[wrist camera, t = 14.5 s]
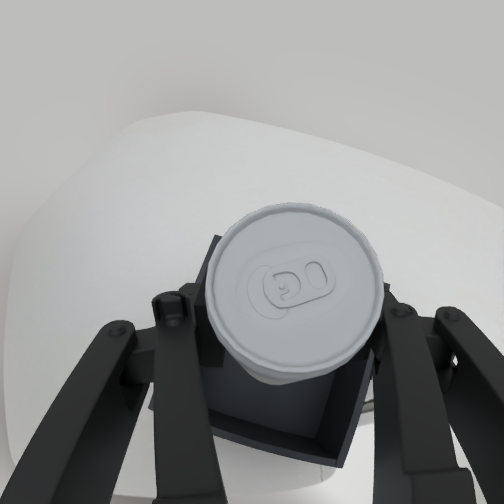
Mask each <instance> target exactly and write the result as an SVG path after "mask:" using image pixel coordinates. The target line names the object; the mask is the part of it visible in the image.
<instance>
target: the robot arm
mask: <svg viewBox="0 0 504 504" xmlns="http://www.w3.org/2000/svg"><path fill="white" fill-rule="evenodd" d="M217 243H218V242H216V244H215V247H216V245H217ZM215 247H214V250H215ZM214 250H213V252H214ZM213 252H212V254H213ZM211 257H212V255H211ZM210 259H211V258H210ZM207 270H208V266H207V269H206V272H205V275H204V278H203V281H202V283H186V284H185V285H183V286H182V287H181V288H179V291H169V292H164V293H161V294H159V295H157V296H156V297H154V298H153V300H152V307H153V312H154V317H155V322H156V325H155V326H154V327H152V328H148V329H142V330H135V327H134V325H133V323H131V322H129V321H125V320H116V321H112V322H110V323H108V324H106V325H104V326H103V327H102V328H101V330H100V331H99V332H98V334H97V335H96V337H95V338H94V340H93V341H92V343H91V344H90V346H89V347H88V349H87V350H86V352H85V353H84V355H83V356H82V358H81V359H80V361H79V362H78V364H77V365H76V367H75V368H74V370H73V371H72V373H71V374H70V376H69V377H68V379H67V381H66V382H65V384H64V385H63V387H62V388H61V390H60V392H59V393H58V395H57V396H56V398H55V400H54V401H53V403H52V405H51V406H50V408H49V410H48V411H47V413H46V415H45V416H44V418H43V420H42V421H41V423H40V425H39V426H38V428H37V430H36V432H35V433H34V435H33V437H32V439H31V440H30V442H29V444H28V446H27V448H26V449H25V451H24V453H23V455H22V457H21V459H20V460H19V462H18V464H17V466H16V468H15V470H14V472H13V474H12V476H11V478H10V480H9V482H8V484H7V486H6V488H5V490H4V492H3V494H2V496H1V498H0V504H110V501H111V497H112V494H113V491H114V488H115V485H116V482H117V478H118V475H119V472H120V469H121V466H122V463H123V460H124V457H125V454H126V451H127V448H128V445H129V442H130V439H131V436H132V433H133V431H134V428H135V425H136V422H137V419H138V416H139V413H140V411H141V408H142V405H143V402H144V399H145V397H146V394H147V391H148V388H149V385H150V383H151V382H154V449H155V470H156V486H157V497H156V499H154V500H153V502H152V504H228V501H227V497H226V493H225V489H224V485H223V480H222V476H221V472H220V467H219V463H218V458H217V454H216V449H215V444H214V439H213V434H212V429H211V424H210V419H209V414H208V409H207V403H206V398H205V392H204V387H203V381H202V375H201V369H200V361H201V358H202V364H203V367H223V363H224V355H225V347H224V346H223V345H222V343H221V342H220V341H219V340H218V338H217V336H216V333H215V331H214V329H213V327H212V325H211V323H210V320H209V318H208V313H207V306H206V299H205V291H206V288H205V285H206V277H207ZM370 349H372V351H373V353H374V359H373V363H372V367H371V371H370V376H369V380H371V379H372V376H373V393H374V425H375V426H374V427H375V428H374V431H375V450H374V451H375V452H374V453H375V454H374V487H373V504H477V503H476V496H475V489H474V483H473V478H472V474H471V471H470V470H469V469H468V468H460V467H459V466H458V464H457V461H456V455H455V450H454V444H453V439H452V434H451V430H450V425H451V427H452V429H453V431H454V433H455V435H456V437H457V439H458V441H459V443H460V445H461V447H462V449H463V451H464V453H465V455H466V458H467V459H468V462H469V464H470V466H471V468H472V470H473V472H474V474H475V477H476V479H477V481H478V483H479V486H480V488H481V490H482V492H483V495H484V497H485V499H486V502H487V504H504V356H503V355H502V354H501V353H500V351H499V350H498V349H497V348H496V347H495V346H494V345H493V343H492V342H491V341H490V340H489V339H488V338H487V337H486V336H485V335H484V333H483V332H482V331H481V330H480V329H479V328H478V327H477V326H476V325H475V324H474V323H473V322H472V320H471V319H470V318H469V317H468V316H467V315H466V314H465V313H464V312H462V311H461V310H459V309H457V308H455V307H451V306H448V307H441V308H439V309H437V311H436V315H435V318H432V317H421V316H418V314H417V312H416V310H415V309H414V308H413V307H412V306H410V305H408V304H405V303H399V302H398V301H397V300H396V298H395V297H394V296H393V294H392V293H391V292H390V291H389V289H388V288H387V287H386V285H385V284H384V299H383V304H382V309H381V314H380V318H379V320H378V322H377V324H376V325H375V327H374V329H373V331H372V333H371V335H370V337H369V338H368V339H367V341H366V343H365V345H364V346H363V347H362V348H361V349H360V350H359V351H358V352H357V353H356V354H355V355H354V356H353V357H352V358H351V359H350V362H351V361H361V360H368V359H369V354H370ZM455 356H456V358H457V361H458V363H457V365H455V364H454V362H453V359H454V357H455ZM449 424H450V425H449Z"/></svg>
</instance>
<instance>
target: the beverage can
mask: <svg viewBox="0 0 504 504" xmlns="http://www.w3.org/2000/svg"><path fill="white" fill-rule="evenodd" d="M205 288H206V291H205V299H206V306H207V313H208V318H209V320H210V323H211V325H212V327H213V329H214V331H215V333H216V336H217V338H218V340H219V341H220V342H221V343H222V345H223V346H224V347H225V348H226V349H227V351H228V352H229V353H230V354H231V355H232V356H233V358H234V359H235V360H236V361H237V362H238V363H239V364H240V365H241V366H242V367H243V368H244V369H245V370H246V371H247V372H248V373H249V374H250V375H251V376H252V377H254V378H255V379H257V380H258V381H261V382H264V383H267V384H270V385H283V384H288V383H292V382H297V381H301V380H306V379H310V378H314V377H318V376H322V375H326V374H328V373H329V372H331V371H333V370H335V369H337V368H338V367H340V366H342V365H344V364H345V363H347V362H348V361H349V360H350V359H351V358H352V357H353V356H354V355H355V354H356V353H357V352H358V351H359V350H360V349H361V348H362V347H363V346H364V345H365V343H366V341H367V339H368V338H369V337H370V335H371V333H372V331H373V329H374V327H375V325H376V324H377V322H378V320H379V318H380V314H381V309H382V304H383V299H384V283H383V273H382V270H381V267H380V264H379V261H378V258H377V255H376V252H375V251H374V249H373V248H372V246H371V245H370V243H369V242H368V240H367V239H366V237H365V236H364V234H362V233H361V232H360V231H359V230H358V229H357V228H356V227H355V226H354V225H353V224H352V223H351V222H350V221H349V220H347V219H345V218H343V217H342V216H340V215H338V214H336V213H334V212H333V211H331V210H328V209H325V208H322V207H318V206H315V205H312V204H304V203H282V204H276V205H270V206H266V207H264V208H261V209H259V210H257V211H254V212H252V213H250V214H247V215H246V216H245V217H243V218H242V219H241V220H239V221H238V222H237V223H235V224H234V225H233V226H231V227H230V228H229V230H228V231H227V232H226V233H225V235H224V236H223V237H222V238H221V240H220V241H219V242H218V243H217V245H216V247H215V250H214V252H213V254H212V257H211V259H210V261H209V264H208V270H207V277H206V285H205Z"/></svg>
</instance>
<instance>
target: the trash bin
mask: <svg viewBox="0 0 504 504" xmlns="http://www.w3.org/2000/svg"><path fill="white" fill-rule="evenodd" d="M221 238H222V236H218V235H214V238H213V240H212V243H211V245H210V247H209V250H208V252H207V255H206V257H205V260H204V262H203V265H202V267H201V269H200V272H199V274H198V277H197V279H196V282H195V283H202V281H203V278H204V275H205V272H206V269H207V266H208V264H209V261H210V258H211V255H212V252H213V250H214V247H215V244H216V242H219V241H220V240H221ZM383 283H384V282H383ZM384 284H385V285H386V287H387V288H388V289H389V288H390V284H388V283H384ZM373 359H374V353H373V351H372V349H370V354H369V359H368V360H361V361H351V362H350V360H349V361H348V362H347V363H345V364H344V365H342V366H340V367H338V368H337V369H335V370H333V371H331V372H329V373H328V374H326V375H322V376H318V377H314V378H310V379H306V380H301V381H297V382H292V383H288V384H283V385H270V384H267V383H264V382H261V381H258V380H257V379H255V378H254V377H252V376H251V375H250V374H249V373H248V372H247V371H246V370H245V369H244V368H243V367H242V366H241V365H240V364H239V363H238V362H237V361H236V360H235V359H234V358H233V356H232V355H231V354H230V353H229V352H228V351H227V349H226V348H225V355H224V363H223V367H203V364H202V358H201V361H200V369H201V375H202V381H203V387H204V392H205V398H206V403H207V409H208V414H209V419H210V424H211V429H212V434H213V435H215V436H218V437H221V438H224V439H227V440H230V441H233V442H236V443H239V444H242V445H245V446H249V447H252V448H255V449H259V450H262V451H266V452H269V453H273V454H277V455H281V456H285V457H289V458H293V459H297V460H302V461H306V462H311V463H316V464H321V465H326V466H331V467H337V468H343V465H344V462H345V459H346V457H347V454H348V451H349V448H350V445H351V442H352V439H353V436H354V433H355V430H356V427H357V424H358V421H359V418H360V414H361V411H362V408H363V404H364V401H365V397H366V394H367V390H368V386H369V383H370V380H369V376H370V371H371V367H372V363H373ZM148 409H150V410H152V411H154V392H153V395H152V398H151V401H150V404H149V407H148Z"/></svg>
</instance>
